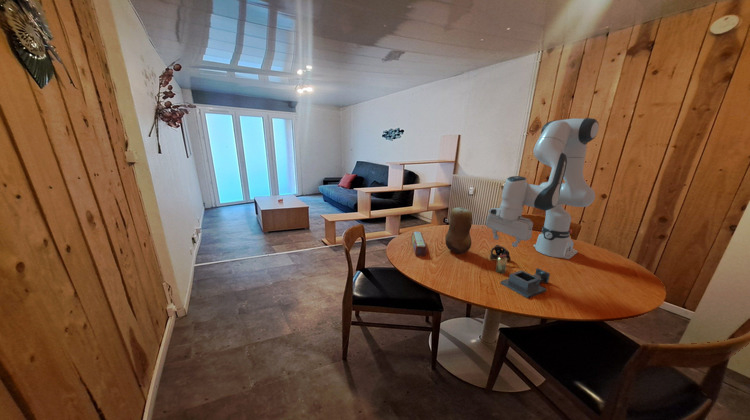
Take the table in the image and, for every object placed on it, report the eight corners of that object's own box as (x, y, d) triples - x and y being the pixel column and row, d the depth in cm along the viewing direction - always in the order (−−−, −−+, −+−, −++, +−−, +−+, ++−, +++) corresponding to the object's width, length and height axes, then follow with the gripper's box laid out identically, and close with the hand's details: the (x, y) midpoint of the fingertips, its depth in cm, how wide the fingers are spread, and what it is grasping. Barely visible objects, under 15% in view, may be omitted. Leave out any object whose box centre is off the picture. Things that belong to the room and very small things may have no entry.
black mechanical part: (515, 265, 124) (511, 253, 120) (495, 270, 126) (491, 259, 123) (505, 249, 134) (502, 238, 130) (488, 255, 137) (484, 244, 133)
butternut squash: (472, 250, 138) (478, 207, 131) (466, 259, 127) (473, 213, 120) (447, 245, 145) (452, 204, 138) (440, 253, 134) (445, 209, 127)
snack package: (426, 257, 129) (427, 245, 128) (414, 256, 130) (414, 244, 128) (421, 241, 150) (422, 231, 148) (411, 241, 150) (411, 230, 148)
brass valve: (499, 268, 118) (502, 253, 116) (506, 272, 115) (509, 256, 113) (492, 270, 116) (495, 254, 114) (500, 274, 113) (502, 258, 111)
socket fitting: (528, 273, 114) (530, 264, 113) (556, 287, 104) (558, 276, 102) (500, 283, 106) (502, 272, 104) (527, 298, 95) (530, 287, 94)
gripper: (538, 219, 101) (531, 250, 104) (495, 207, 118) (490, 234, 122) (528, 220, 98) (522, 252, 101) (486, 208, 115) (481, 236, 119)
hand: (504, 242), depth 112 cm, fingers open, 8 cm apart
